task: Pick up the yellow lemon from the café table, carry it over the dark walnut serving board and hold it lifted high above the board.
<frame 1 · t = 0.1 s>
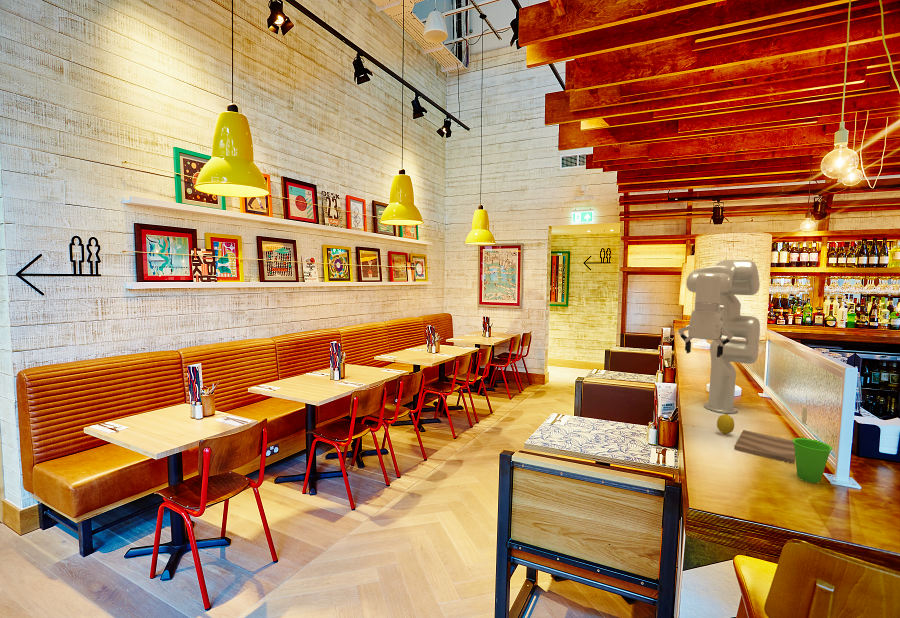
hand: (703, 354, 155), 31 cm above the counter, tool pointing down, fingers open, 9 cm apart
serving board: (766, 447, 150), on the counter
character mug: (812, 442, 155), on the counter
lemon: (724, 435, 161), on the counter
cup: (808, 480, 127), on the counter
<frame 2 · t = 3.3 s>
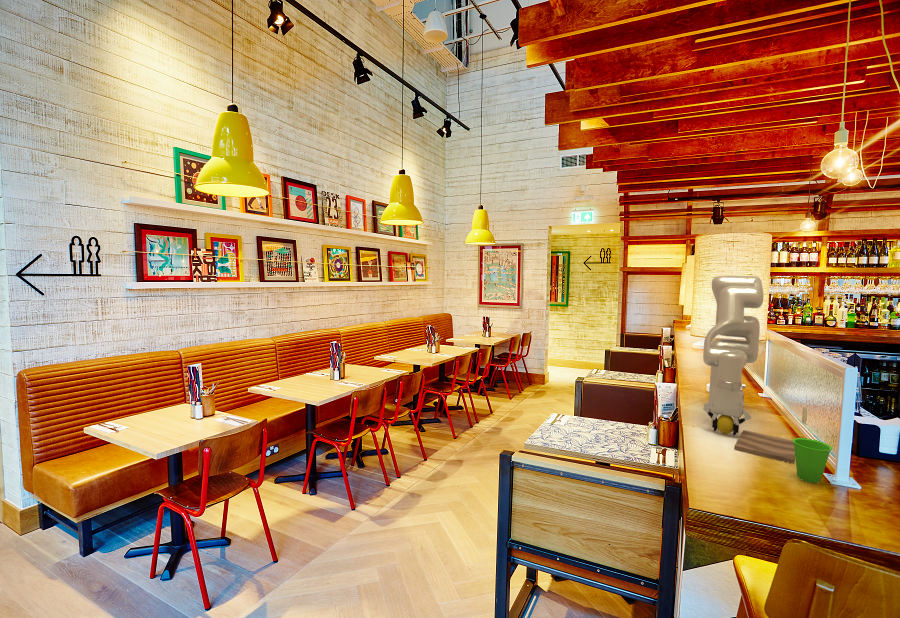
hand: (724, 431, 161), 1 cm above the counter, tool pointing down, fingers closed on lemon, 5 cm apart
lemon: (724, 435, 161), on the counter, touching gripper
everything else where it was.
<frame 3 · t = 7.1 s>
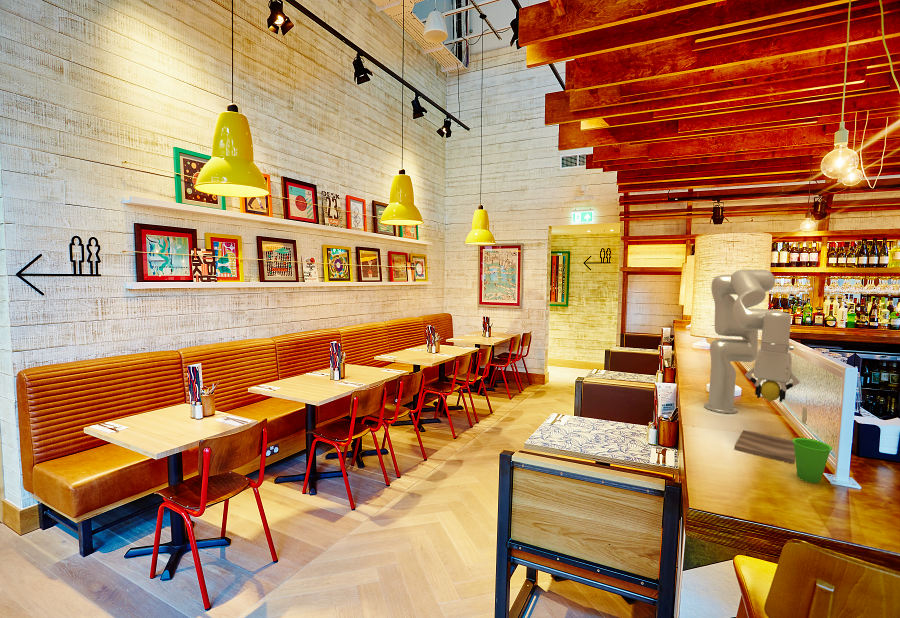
hand: (769, 398, 148), 17 cm above the counter, tool pointing down, fingers closed on lemon, 5 cm apart
lemon: (769, 402, 148), point 16 cm above the counter, touching gripper
everything else where it was.
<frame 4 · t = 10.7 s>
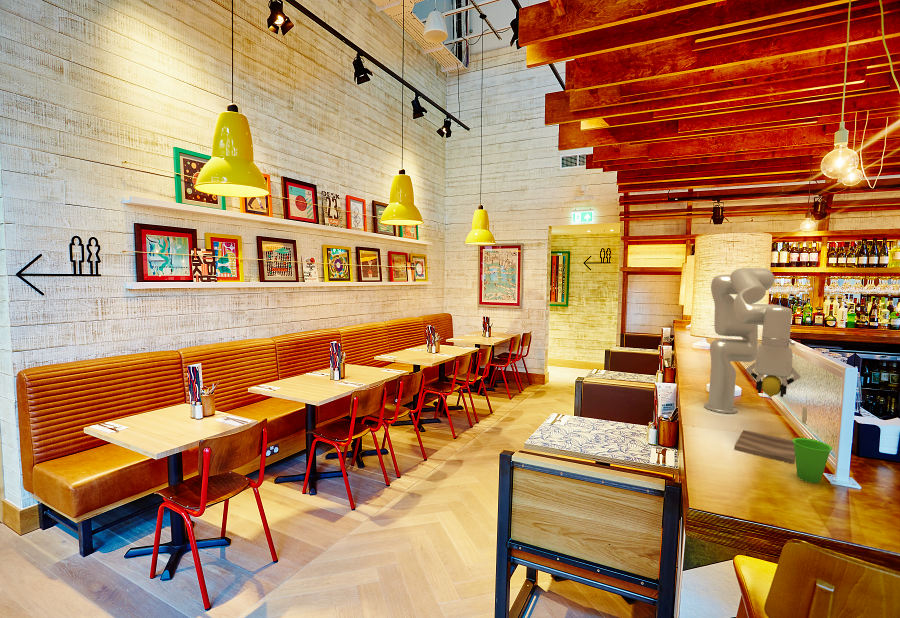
hand: (770, 393, 148), 19 cm above the counter, tool pointing down, fingers closed on lemon, 5 cm apart
lemon: (770, 397, 148), point 18 cm above the counter, touching gripper
everything else where it was.
at the end: the gripper is holding lemon; lemon point 17.9 cm above the counter; lemon inside the target area on the serving board (0.1 cm from its centre), point 17.9 cm above the serving board's base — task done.
